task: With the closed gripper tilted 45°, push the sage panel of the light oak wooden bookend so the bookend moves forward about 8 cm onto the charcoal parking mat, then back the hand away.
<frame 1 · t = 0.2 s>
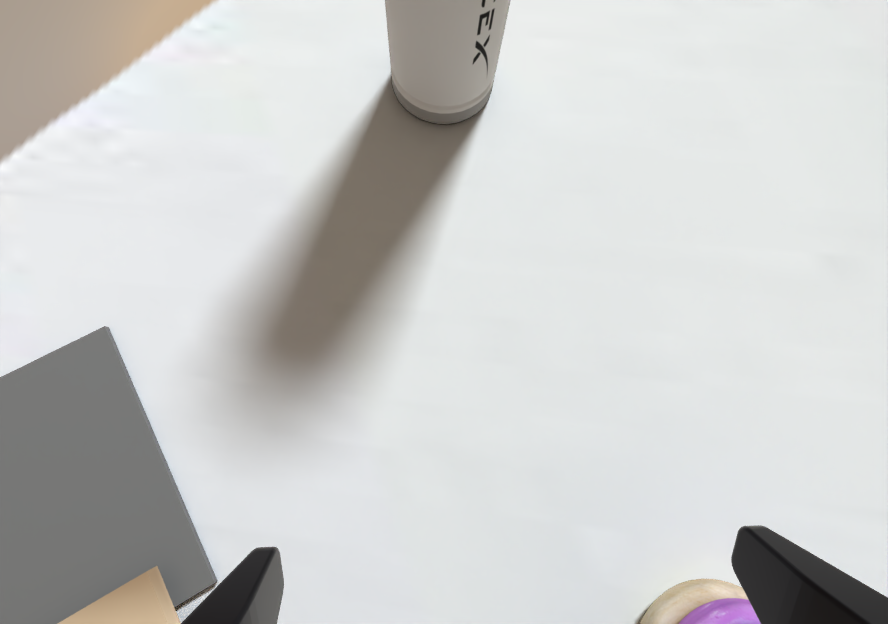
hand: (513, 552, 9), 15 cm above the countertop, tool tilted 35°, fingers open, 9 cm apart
travel mug: (439, 84, 29), on the countertop
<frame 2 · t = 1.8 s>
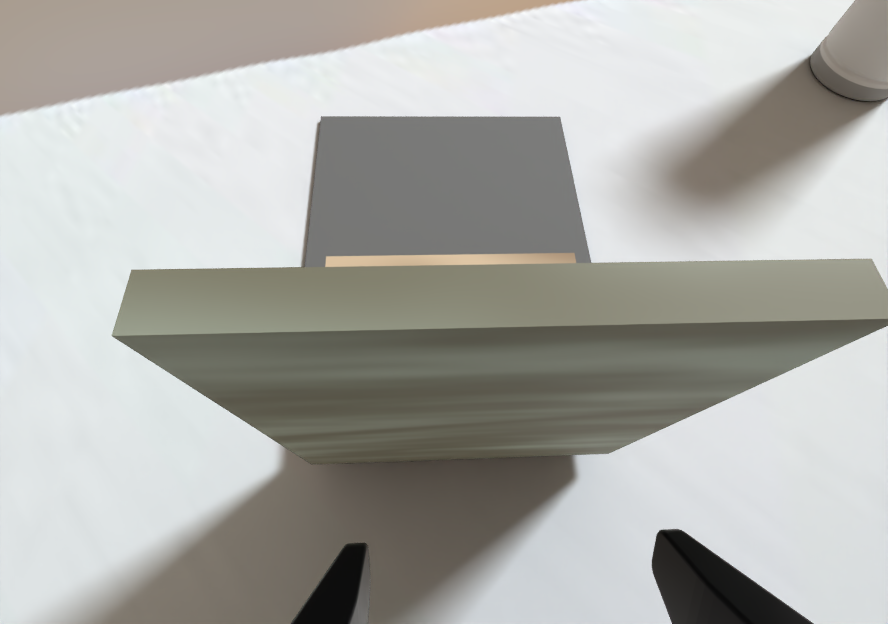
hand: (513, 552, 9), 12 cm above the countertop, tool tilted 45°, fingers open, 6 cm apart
travel mug: (846, 76, 35), on the countertop
wooden bookend: (467, 282, 16), point 8 cm above the countertop, slide at 0.0 cm
parking mat: (446, 202, 28), on the countertop
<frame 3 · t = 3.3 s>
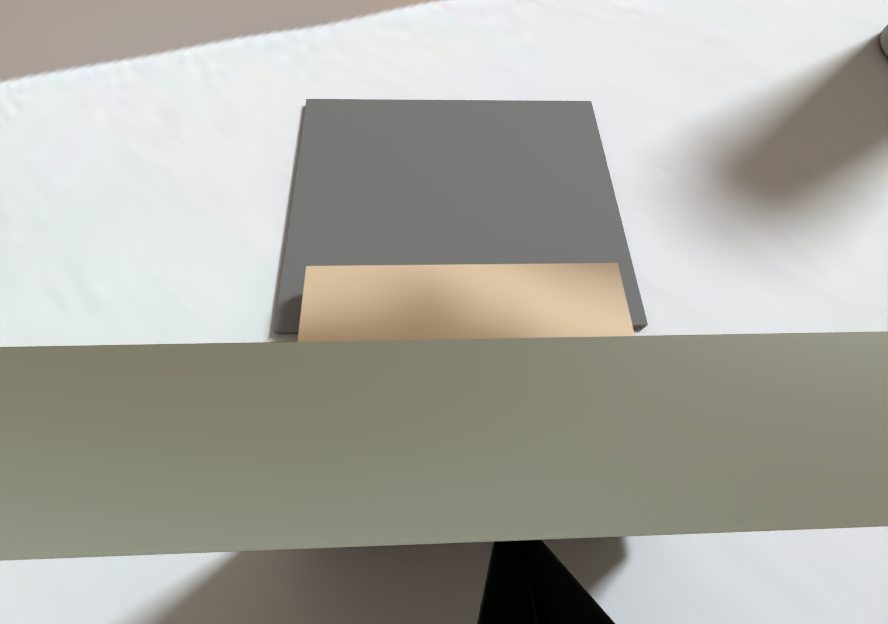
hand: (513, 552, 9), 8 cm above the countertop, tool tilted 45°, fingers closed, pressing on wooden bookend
wooden bookend: (493, 310, 11), point 8 cm above the countertop, slide at 0.2 cm, touching gripper
parking mat: (456, 202, 23), on the countertop
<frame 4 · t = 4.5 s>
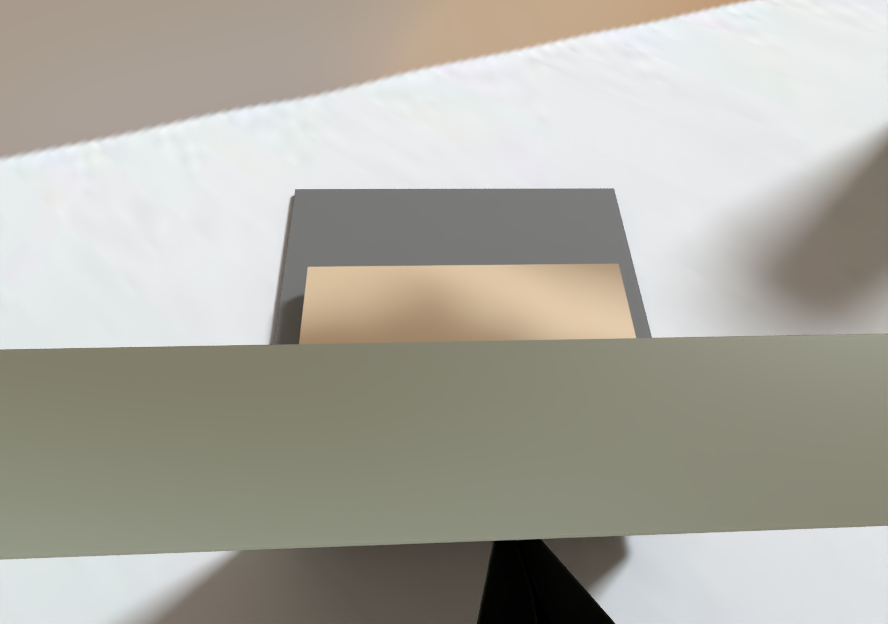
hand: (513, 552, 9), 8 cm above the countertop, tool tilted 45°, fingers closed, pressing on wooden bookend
wooden bookend: (494, 311, 12), point 8 cm above the countertop, slide at 6.5 cm, touching gripper
parking mat: (464, 317, 20), on the countertop
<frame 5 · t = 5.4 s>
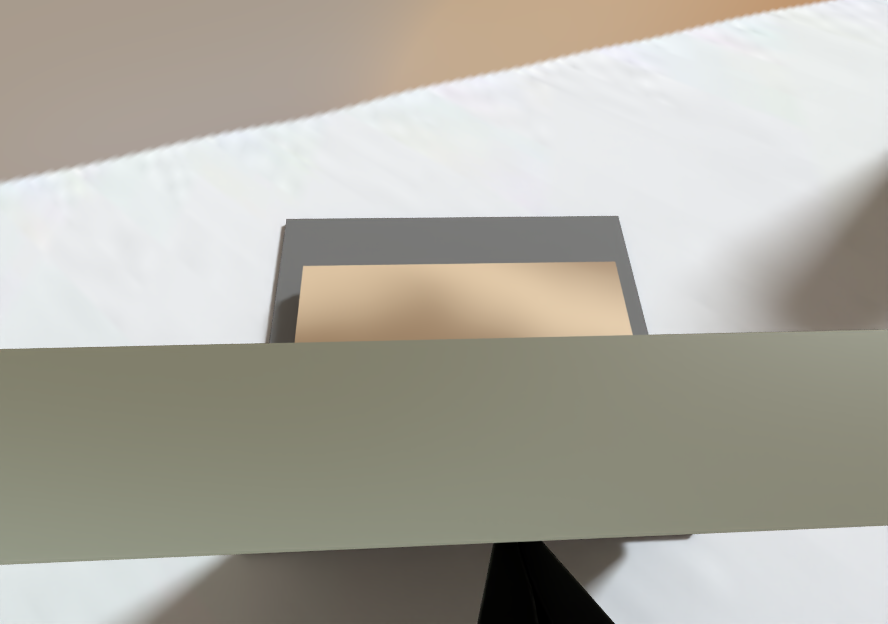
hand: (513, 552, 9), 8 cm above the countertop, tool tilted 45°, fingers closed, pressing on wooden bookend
wooden bookend: (490, 309, 11), point 8 cm above the countertop, slide at 8.4 cm, touching gripper
parking mat: (463, 356, 19), on the countertop
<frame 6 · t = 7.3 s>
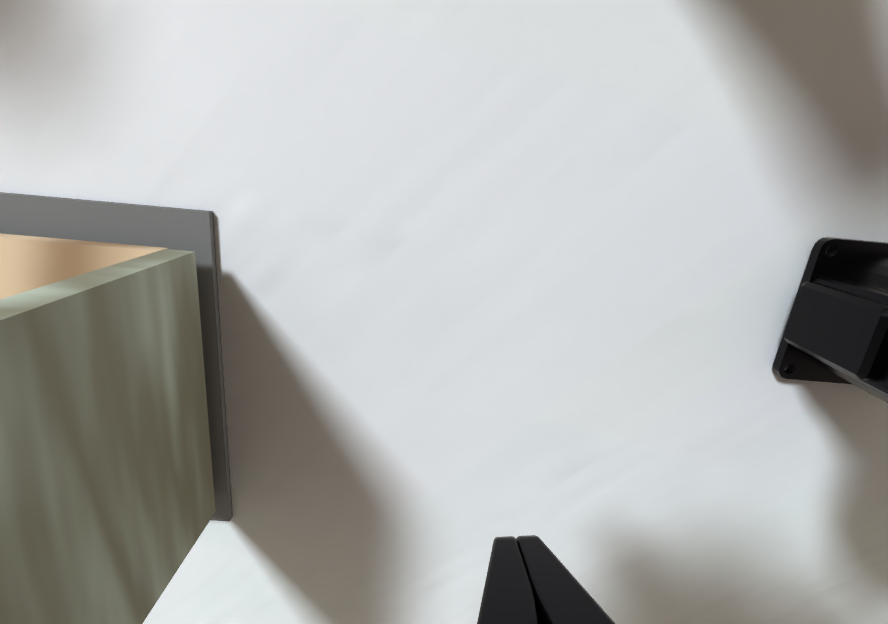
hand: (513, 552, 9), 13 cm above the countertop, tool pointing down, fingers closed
parking mat: (73, 369, 22), on the countertop
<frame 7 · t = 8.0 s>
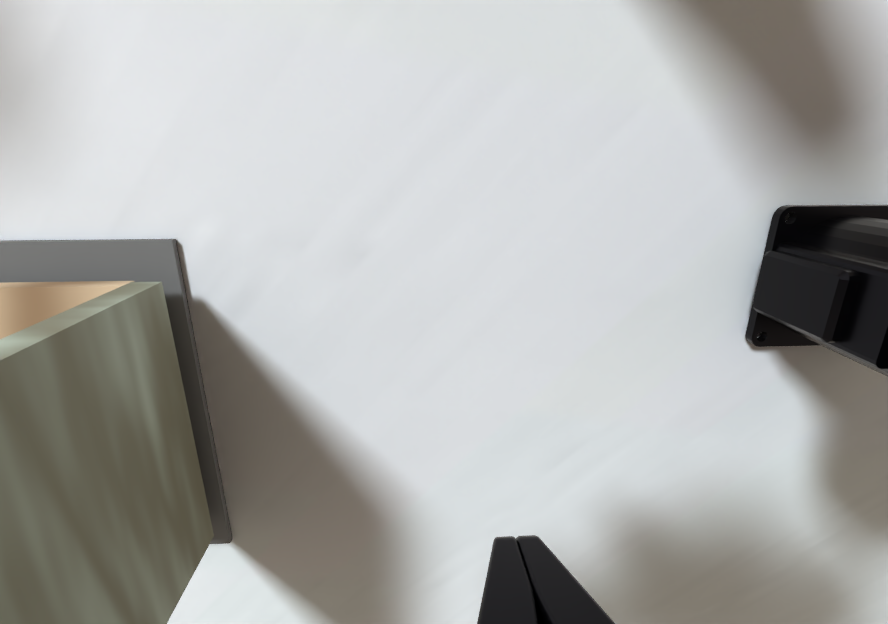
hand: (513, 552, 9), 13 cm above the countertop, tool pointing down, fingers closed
parking mat: (54, 410, 22), on the countertop
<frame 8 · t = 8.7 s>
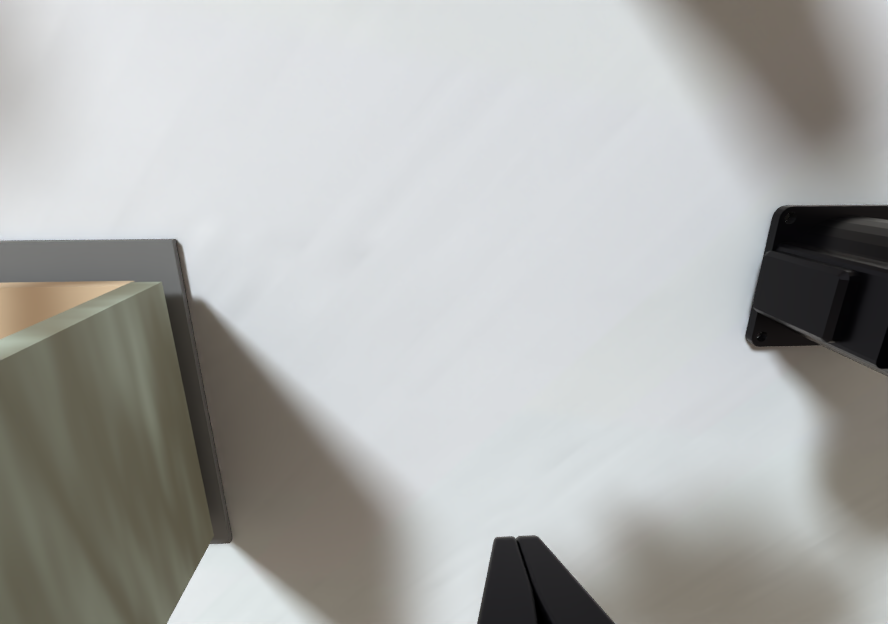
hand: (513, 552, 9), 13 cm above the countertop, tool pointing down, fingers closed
parking mat: (54, 410, 22), on the countertop
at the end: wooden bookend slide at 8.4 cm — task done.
